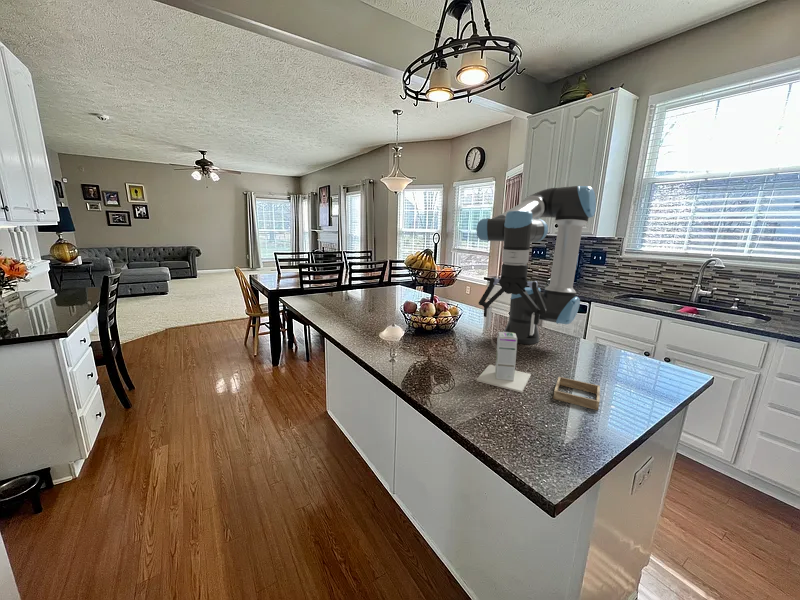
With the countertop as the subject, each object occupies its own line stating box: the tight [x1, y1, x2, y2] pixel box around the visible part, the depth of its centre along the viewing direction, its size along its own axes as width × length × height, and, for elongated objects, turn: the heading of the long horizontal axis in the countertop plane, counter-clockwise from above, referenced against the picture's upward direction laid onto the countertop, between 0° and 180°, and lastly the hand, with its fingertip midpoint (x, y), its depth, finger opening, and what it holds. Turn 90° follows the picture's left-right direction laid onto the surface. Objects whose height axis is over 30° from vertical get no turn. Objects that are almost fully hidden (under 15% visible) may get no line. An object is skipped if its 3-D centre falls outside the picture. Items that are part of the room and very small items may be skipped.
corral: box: [552, 376, 601, 411], centre depth 96 cm, size 11×11×2 cm
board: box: [476, 364, 532, 394], centre depth 107 cm, size 14×14×1 cm
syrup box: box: [494, 331, 518, 381], centre depth 105 cm, size 6×6×14 cm
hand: (509, 330), depth 104 cm, fingers open, 13 cm apart
